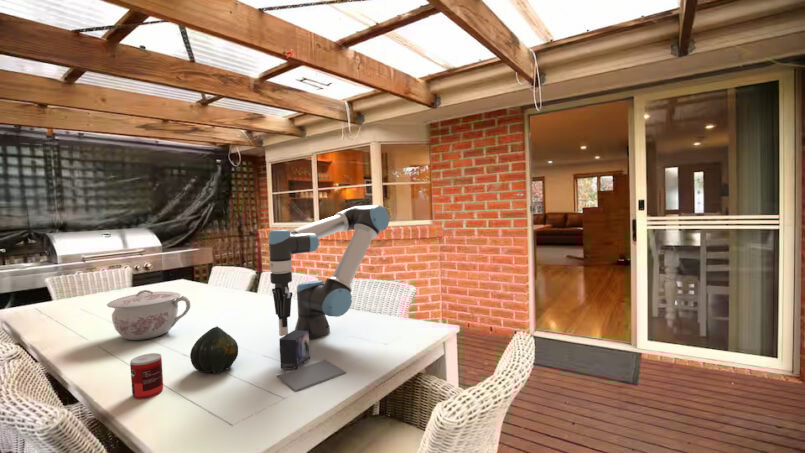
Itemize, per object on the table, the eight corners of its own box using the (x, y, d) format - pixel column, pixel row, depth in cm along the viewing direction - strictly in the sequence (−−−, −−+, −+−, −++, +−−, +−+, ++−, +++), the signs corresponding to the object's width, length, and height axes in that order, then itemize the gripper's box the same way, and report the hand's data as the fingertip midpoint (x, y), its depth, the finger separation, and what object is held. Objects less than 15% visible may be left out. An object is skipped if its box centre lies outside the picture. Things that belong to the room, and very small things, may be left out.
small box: (297, 370, 125) (295, 339, 125) (279, 369, 127) (277, 339, 127) (311, 358, 136) (309, 329, 136) (294, 358, 137) (293, 329, 137)
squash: (198, 368, 117) (225, 324, 125) (173, 361, 125) (200, 320, 133) (231, 384, 126) (254, 342, 134) (206, 376, 134) (229, 337, 142)
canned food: (142, 388, 117) (139, 353, 116) (168, 386, 118) (166, 352, 117) (126, 400, 109) (123, 363, 109) (154, 398, 110) (152, 362, 109)
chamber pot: (94, 342, 161) (91, 295, 160) (157, 323, 186) (154, 282, 185) (137, 349, 150) (133, 299, 149) (197, 328, 176) (194, 285, 175)
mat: (276, 376, 122) (276, 375, 122) (325, 360, 134) (325, 359, 134) (295, 391, 112) (295, 390, 112) (346, 373, 123) (346, 371, 123)
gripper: (264, 271, 139) (267, 333, 140) (278, 275, 129) (281, 341, 131) (283, 268, 144) (286, 328, 145) (298, 272, 134) (301, 336, 135)
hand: (283, 334), depth 138 cm, fingers closed
